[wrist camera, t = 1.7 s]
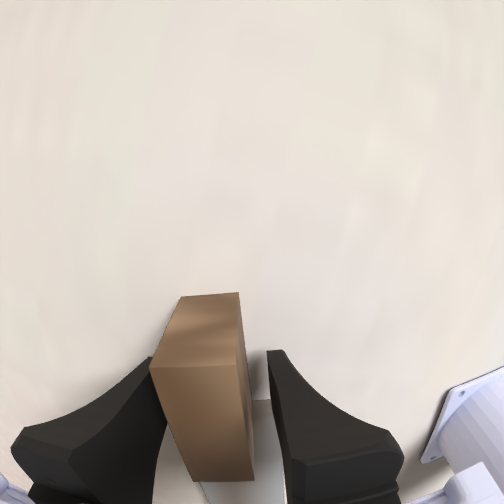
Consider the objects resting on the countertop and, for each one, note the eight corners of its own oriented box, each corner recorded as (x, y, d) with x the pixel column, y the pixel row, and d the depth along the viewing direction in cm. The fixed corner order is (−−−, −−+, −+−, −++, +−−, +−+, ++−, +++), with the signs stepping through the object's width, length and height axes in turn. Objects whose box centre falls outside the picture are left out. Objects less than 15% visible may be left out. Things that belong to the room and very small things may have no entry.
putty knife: (270, 289, 12) (285, 360, 8) (284, 520, 18) (289, 565, 13) (152, 298, 12) (108, 366, 8) (226, 523, 18) (225, 568, 13)
